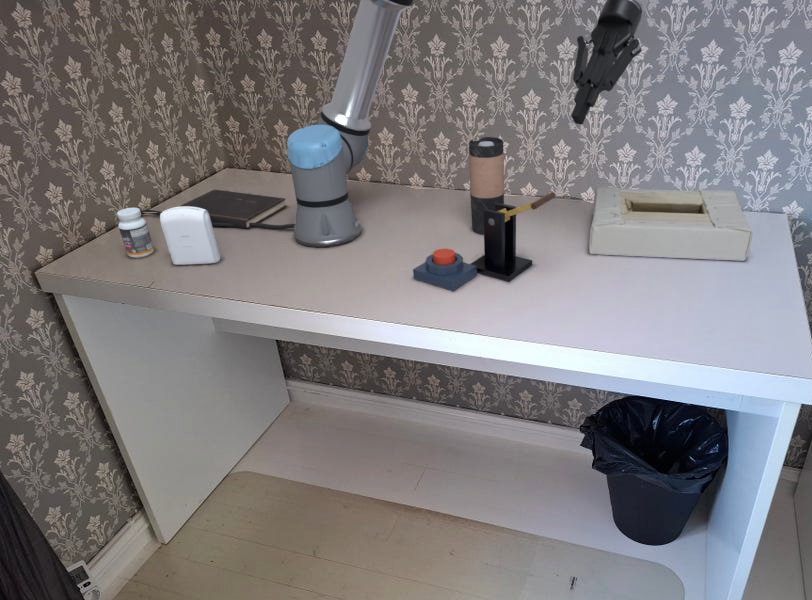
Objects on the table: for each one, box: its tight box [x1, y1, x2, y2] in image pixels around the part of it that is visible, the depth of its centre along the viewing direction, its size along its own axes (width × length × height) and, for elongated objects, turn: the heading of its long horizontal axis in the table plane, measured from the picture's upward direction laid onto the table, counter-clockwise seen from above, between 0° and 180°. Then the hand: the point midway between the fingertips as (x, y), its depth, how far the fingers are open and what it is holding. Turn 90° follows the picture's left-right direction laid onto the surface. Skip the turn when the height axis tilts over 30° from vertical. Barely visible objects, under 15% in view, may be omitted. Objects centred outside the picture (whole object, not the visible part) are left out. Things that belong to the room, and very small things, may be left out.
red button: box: [432, 248, 456, 265], centre depth 134 cm, size 4×4×2 cm
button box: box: [412, 252, 478, 292], centre depth 136 cm, size 10×8×4 cm
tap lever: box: [498, 191, 556, 222], centre depth 130 cm, size 13×7×2 cm, turn 55°
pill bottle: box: [116, 207, 155, 259], centre depth 150 cm, size 6×6×10 cm
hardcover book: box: [178, 188, 288, 230], centre depth 172 cm, size 16×23×2 cm
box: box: [588, 186, 753, 262], centre depth 148 cm, size 23×8×32 cm
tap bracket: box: [470, 203, 533, 283], centre depth 136 cm, size 10×9×13 cm
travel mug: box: [468, 136, 505, 235], centre depth 152 cm, size 8×8×20 cm
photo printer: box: [159, 205, 221, 266], centre depth 144 cm, size 10×4×12 cm, turn 90°
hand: (576, 119), depth 127 cm, fingers closed
